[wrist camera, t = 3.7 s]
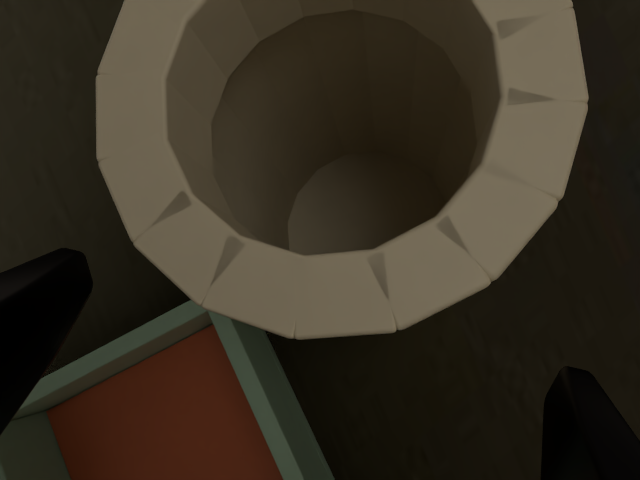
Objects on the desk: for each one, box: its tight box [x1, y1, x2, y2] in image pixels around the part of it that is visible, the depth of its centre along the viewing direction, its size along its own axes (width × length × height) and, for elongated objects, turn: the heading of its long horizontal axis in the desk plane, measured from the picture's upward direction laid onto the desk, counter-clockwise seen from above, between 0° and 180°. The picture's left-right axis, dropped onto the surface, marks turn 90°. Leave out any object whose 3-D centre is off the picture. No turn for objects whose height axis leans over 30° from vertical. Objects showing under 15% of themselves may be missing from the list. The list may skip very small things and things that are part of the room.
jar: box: [96, 0, 589, 340], centre depth 14 cm, size 7×7×13 cm
